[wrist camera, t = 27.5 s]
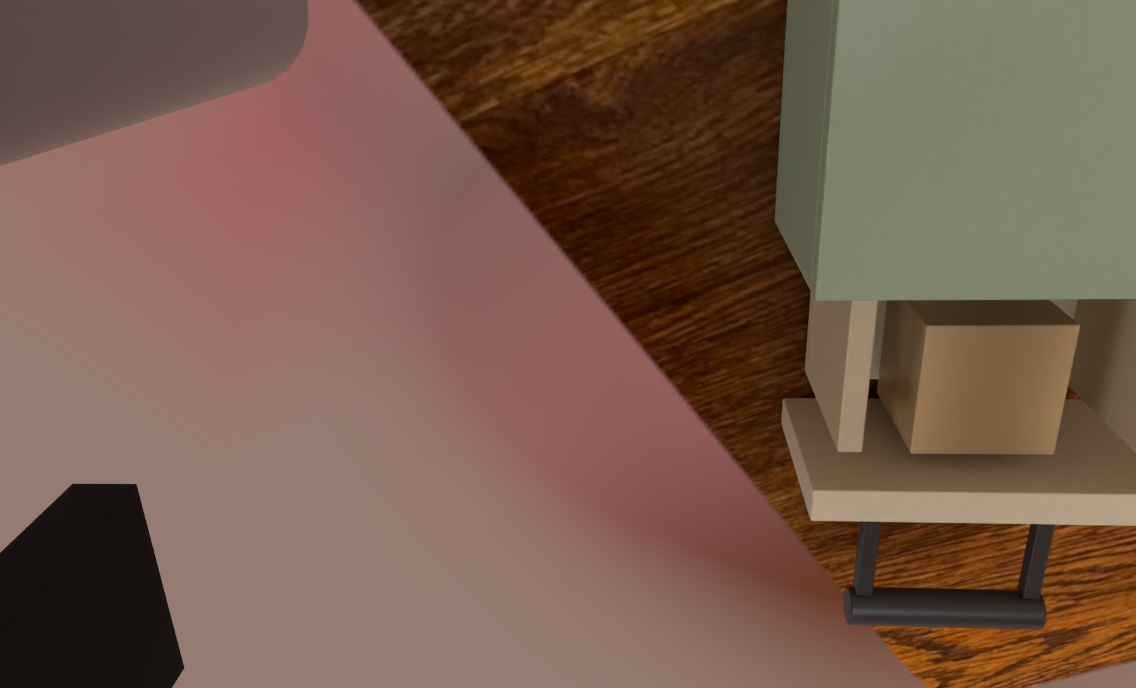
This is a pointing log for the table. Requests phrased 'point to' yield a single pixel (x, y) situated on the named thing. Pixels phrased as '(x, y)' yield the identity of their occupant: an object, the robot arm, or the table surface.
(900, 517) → the drawer
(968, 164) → the cabinet
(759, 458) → the table surface
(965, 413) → the block
